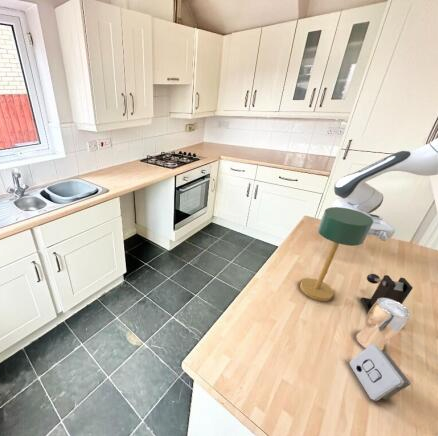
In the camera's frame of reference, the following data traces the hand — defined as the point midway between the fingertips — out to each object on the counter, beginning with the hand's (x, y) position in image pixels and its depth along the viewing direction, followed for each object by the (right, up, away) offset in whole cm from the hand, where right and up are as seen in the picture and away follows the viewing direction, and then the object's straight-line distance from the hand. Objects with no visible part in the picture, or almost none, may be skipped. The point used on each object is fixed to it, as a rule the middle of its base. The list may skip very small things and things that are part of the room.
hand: (368, 237), depth 91 cm
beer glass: (-18, -30, -20) cm, 40 cm away
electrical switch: (-27, -35, -29) cm, 52 cm away
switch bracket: (-7, -24, -11) cm, 27 cm away
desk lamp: (-21, -20, -2) cm, 29 cm away
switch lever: (-5, -16, -11) cm, 20 cm away
